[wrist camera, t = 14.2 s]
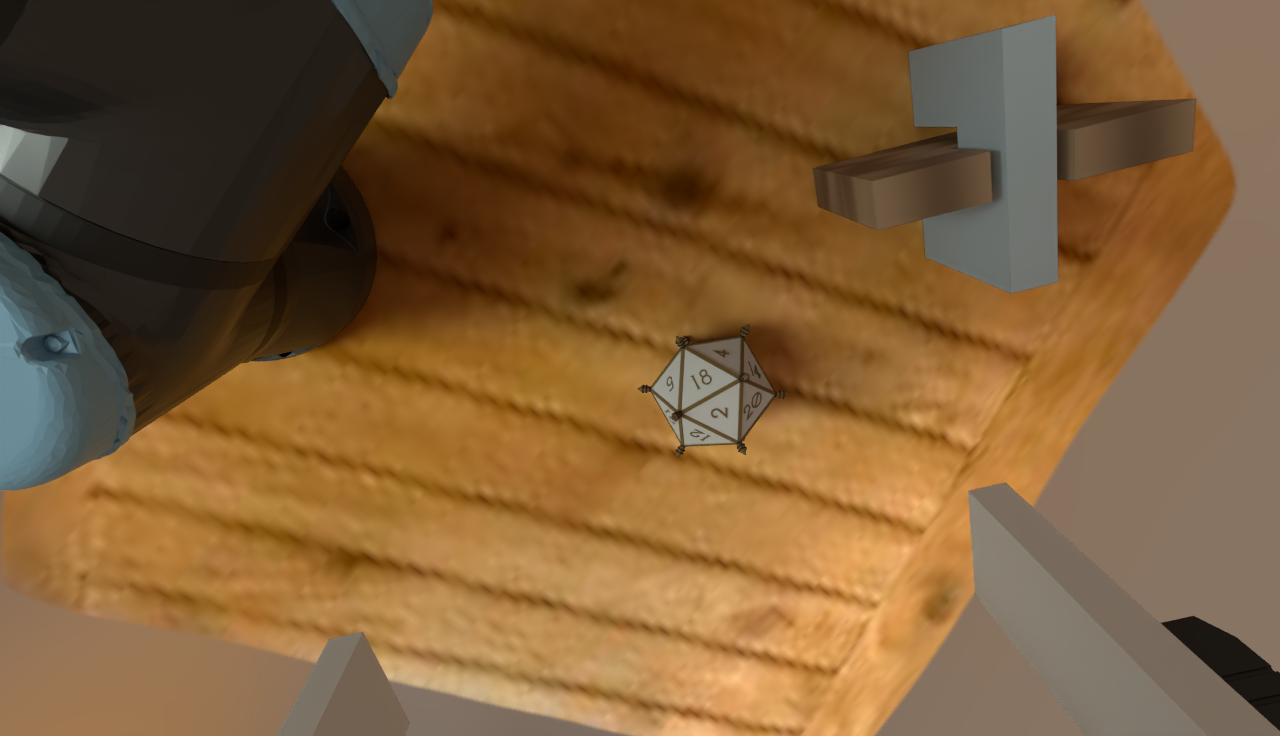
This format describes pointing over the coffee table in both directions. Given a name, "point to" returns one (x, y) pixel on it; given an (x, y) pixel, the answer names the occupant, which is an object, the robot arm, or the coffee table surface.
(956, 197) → the base plank
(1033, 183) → the cross plank
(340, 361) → the coffee table surface
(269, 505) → the coffee table surface
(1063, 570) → the robot arm
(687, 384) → the game die
